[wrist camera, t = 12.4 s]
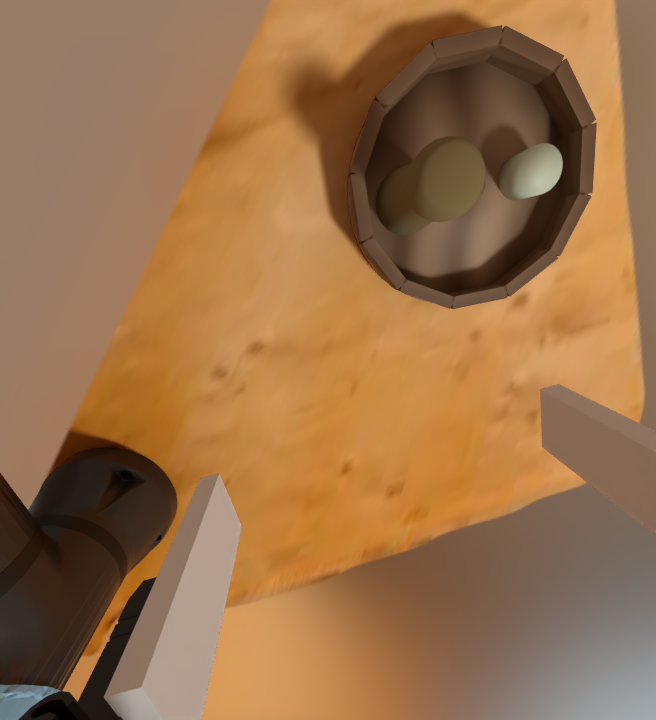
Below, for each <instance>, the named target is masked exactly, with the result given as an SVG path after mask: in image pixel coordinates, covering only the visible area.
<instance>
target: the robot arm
mask: <svg viewBox="0 0 656 720" xmlns="http://www.w3.org/2000/svg"><path fill="white" fill-rule="evenodd" d="M540 395H541V426H542V447H543V448H544V449H545V450H547V451H548V452H549V453H550V454H552V455H553V456H554V457H556V458H557V459H558V460H559V461H561V462H562V463H563V464H565V465H566V466H567V467H568V468H570V469H571V470H572V471H574V472H575V473H576V474H577V475H579V476H580V477H581V478H583V479H584V480H585V481H586V482H588V483H589V484H590V485H592V486H593V487H594V488H595V489H597V490H598V491H599V492H601V493H602V494H603V495H604V496H606V497H607V498H608V499H610V500H611V501H612V502H613V503H615V504H616V505H617V506H619V507H620V508H621V509H622V510H624V511H625V512H626V513H628V514H629V515H630V516H631V517H633V518H634V519H635V520H637V521H638V522H639V523H640V524H642V525H643V526H644V527H646V528H647V529H648V530H649V531H651V532H652V533H653V534H654V535H656V431H654V430H652V429H649V428H648V427H645V426H643V425H641V424H639V423H637V422H635V421H633V420H631V419H629V418H627V417H625V416H623V415H621V414H619V413H617V412H615V411H613V410H611V409H609V408H606V407H604V406H602V405H600V404H598V403H596V402H594V401H592V400H590V399H588V398H586V397H584V396H582V395H580V394H578V393H576V392H574V391H572V390H570V389H568V388H565V387H563V386H561V385H559V384H558V385H554V386H550V387H547V388H543V389H540ZM176 511H177V497H176V493H175V490H174V487H173V485H172V483H171V482H170V480H169V479H168V477H167V476H166V475H165V473H164V472H163V471H162V470H161V469H160V468H159V467H157V466H156V465H155V464H153V463H152V462H151V461H149V460H147V459H146V458H144V457H142V456H140V455H137V454H135V453H132V452H129V451H125V450H121V449H115V448H96V449H90V450H86V451H82V452H80V453H77V454H75V455H73V456H72V457H70V458H68V459H67V460H66V461H65V462H63V463H62V464H61V465H60V466H59V467H58V468H56V469H55V470H54V471H53V472H52V473H51V474H50V475H49V476H48V477H47V479H46V480H45V481H44V483H43V485H42V487H41V489H40V491H39V493H38V495H37V496H36V498H35V500H34V501H33V503H32V505H31V506H30V508H29V510H27V508H26V507H25V506H24V504H23V503H22V502H21V500H20V499H19V498H18V496H17V495H16V493H15V492H14V491H13V489H12V488H11V487H10V485H9V484H8V483H7V481H6V480H5V479H4V477H3V476H2V475H1V473H0V720H201V719H202V714H203V709H204V704H205V700H206V695H207V690H208V686H209V681H210V676H211V671H212V666H213V662H214V657H215V652H216V647H217V642H218V637H219V633H220V628H221V623H222V619H223V614H224V609H225V604H226V600H227V595H228V590H229V585H230V581H231V576H232V571H233V566H234V561H235V557H236V552H237V547H238V542H239V538H240V533H241V528H242V526H241V524H240V521H239V519H238V517H237V514H236V512H235V509H234V507H233V505H232V502H231V500H230V498H229V495H228V493H227V491H226V488H225V486H224V484H223V481H222V479H221V476H220V474H216V475H212V476H208V477H205V478H201V479H200V481H199V483H198V485H197V487H196V490H195V492H194V494H193V496H192V499H191V501H190V503H189V505H188V508H187V510H186V512H185V515H184V517H183V519H182V521H181V524H180V526H179V528H178V530H177V533H176V535H175V537H174V539H173V542H172V544H171V546H170V548H169V551H168V553H167V555H166V558H165V560H164V562H163V564H162V567H161V569H160V571H159V573H158V576H157V577H156V578H152V579H148V580H145V581H143V582H142V583H141V585H140V586H139V587H138V588H137V590H136V591H135V592H134V593H133V595H132V596H131V597H130V598H129V600H128V601H127V603H126V605H125V607H124V609H123V611H122V614H121V616H120V618H119V620H118V624H116V626H115V628H114V630H113V632H112V634H111V636H110V641H109V642H107V644H106V646H105V648H104V650H103V652H102V654H101V656H100V658H99V660H98V662H97V664H96V666H95V668H94V670H93V672H92V674H91V676H90V678H89V680H88V682H87V684H86V686H85V688H84V690H83V692H82V694H81V696H80V698H79V700H78V702H77V701H76V700H75V698H74V697H73V696H72V695H71V694H70V692H63V691H62V690H63V688H64V686H65V685H66V683H67V681H68V679H69V678H70V676H71V674H72V672H73V670H74V668H75V667H76V665H77V663H78V661H79V659H80V658H81V656H82V654H83V652H84V650H85V649H86V647H87V645H88V643H89V641H90V639H91V638H92V636H93V634H94V632H95V630H96V629H97V627H98V625H99V623H100V621H101V620H102V618H103V616H104V614H105V612H106V610H107V609H108V607H109V605H110V603H111V601H112V600H113V598H114V596H115V594H116V592H117V590H118V589H119V587H120V585H121V583H122V582H123V580H124V578H125V576H126V575H127V574H128V573H129V572H130V571H131V570H132V569H133V568H134V567H135V566H136V565H137V564H138V563H139V562H140V561H141V560H142V559H143V558H144V557H145V556H146V555H147V554H148V553H149V552H150V551H151V550H152V549H153V548H154V547H156V546H157V545H158V544H159V543H160V542H161V540H162V539H163V538H164V536H165V535H166V533H167V531H168V530H169V528H170V526H171V524H172V522H173V520H174V518H175V515H176Z"/></svg>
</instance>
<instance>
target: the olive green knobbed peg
mask: <svg viewBox="0 0 656 720" xmlns="http://www.w3.org/2000/svg"><path fill="white" fill-rule="evenodd" d="M484 181H485V164H484V161H483V158H482V155H481V153H480V151H479V150H478V149H477V148H476V146H475V145H474V144H473V143H472V142H470V141H468V140H466V139H465V138H463V137H456V136H448V137H444V138H439V139H436V140H434V141H432V142H431V143H429V144H428V145H426V146H425V147H424V148H423V149H422V150H421V151H420V152H419V153H418V155H417V156H416V157H415V158H414V159H413V161H412V163H410V164H408V165H405V166H403V167H400V168H397V169H396V170H394V171H392V172H391V173H389V174H388V175H387V176H386V177H385V179H384V180H383V181H382V182H381V184H380V186H379V189H378V191H377V194H376V202H375V205H376V212H377V215H378V218H379V220H380V222H381V224H382V225H383V226H384V227H385V228H386V229H387V230H389V231H391V232H393V233H395V234H398V235H410V234H414V233H416V232H418V231H420V230H421V229H423V228H425V227H426V226H427V225H429V224H430V223H432V222H440V223H441V222H446V221H450V220H454V219H456V218H458V217H460V216H461V215H463V214H465V213H466V212H467V211H468V210H469V209H470V208H471V207H472V206H473V205H474V204H475V202H476V201H477V200H478V198H479V196H480V194H481V192H482V190H483V186H484Z"/></svg>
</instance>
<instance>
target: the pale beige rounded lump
mask: <svg viewBox="0 0 656 720" xmlns="http://www.w3.org/2000/svg"><path fill="white" fill-rule="evenodd" d="M562 167H563V161H562V156H561V154H560V152H559V150H558V149H557V148H556V147H555V146H553V145H551V144H548V143H541V144H537V145H535V146H533V147H531V148H529V149H526V150H524V151H522V152H520V153H518V154H516V155H514V156H512V157H511V158H509V159H508V160H507V161H506V162H505V163H504V165H503V166H502V168H501V170H500V173H499V178H498V183H499V188H500V191H501V193H502V194H503V195H504V196H505V197H506V198H508V199H510V200H521V199H525V198H529V197H533V196H537V195H541V194H544V193H546V192H547V191H549V190H550V189H551V188H553V187H554V185H555V184H556V183H557V181H558V180H559V178H560V175H561V172H562Z"/></svg>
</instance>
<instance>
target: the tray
mask: <svg viewBox="0 0 656 720" xmlns="http://www.w3.org/2000/svg"><path fill="white" fill-rule="evenodd" d="M563 57H564V55H562V54H560V53H558V52H556V51H554V50H552V49H550V48H548V47H546V46H544V45H542V44H540V43H538V42H536V41H534V40H532V39H530V38H529V37H527V36H525V35H523V34H521V33H519V32H517V31H515V30H513V29H511V28H509V27H507V26H505V27H504V28H503V29H502V25H501V26H496V27H492V28H487V29H482V30H478V31H473V32H469V33H464V34H459V35H455V36H450V37H445V38H441V39H436V40H433V41H432V43H430V42H429V43H428V44H427V45H426V46H425V47H424V48H423V49H422V50H421V51H420V52H419V53H418V54H417V55H416V56H415V57H414V58H413V59H412V61H411V62H410V63H409V64H408V65H407V66H406V67H405V68H404V69H403V70H402V71H401V72H400V73H399V74H398V75H397V76H396V77H395V78H394V79H393V80H392V81H391V82H390V83H389V84H388V85H387V86H386V87H385V88H384V89H383V90H382V91H381V92H380V93H379V94H378V95H377V96H376V97H375V99H374V100H373V103H372V105H371V107H370V110H369V112H368V116H367V119H366V122H365V124H364V126H363V127H362V130H361V132H360V135H359V137H358V140H357V143H356V145H355V148H354V152H353V156H352V160H351V164H350V170H349V175H348V181H347V182H348V207H349V216H350V220H351V224H352V229H353V232H354V235H355V237H356V240H357V243H358V245H359V247H360V249H361V251H362V253H363V255H364V256H365V258H366V259H367V261H368V262H369V264H370V265H371V267H372V268H373V269H374V270H375V271H376V272H377V273H378V274H379V276H380V277H381V278H383V279H384V280H385V281H386V282H387V283H389V284H390V285H391V287H393V288H394V289H396V290H398V291H401V292H402V293H405V294H407V295H409V296H411V297H414V298H416V299H419V300H423V301H427V302H431V303H435V304H438V305H441V306H444V307H446V308H449V309H450V308H452V309H456V308H460V307H465V306H470V305H475V304H480V303H485V302H489V301H494V300H499V299H504V298H507V296H511V295H512V294H514V293H515V292H516V291H517V290H519V289H520V288H521V287H523V286H524V285H525V284H526V283H528V282H529V281H530V280H531V279H533V278H534V277H535V276H536V275H538V274H539V273H540V272H541V271H543V270H544V269H545V268H546V267H548V266H549V265H550V264H551V263H553V262H554V261H555V260H557V259H558V257H557V256H560V255H561V253H562V251H563V249H564V247H565V245H566V244H567V242H568V240H569V238H570V236H571V234H572V232H573V230H574V228H575V226H576V225H577V223H578V221H579V219H580V217H581V215H582V213H583V211H584V209H585V207H586V206H587V204H588V202H589V200H590V198H591V196H590V195H588V194H589V193H592V192H593V175H594V158H595V141H596V124H597V123H594V124H591V123H592V122H594V121H595V120H596V119H595V116H594V114H593V112H592V110H591V108H590V106H589V104H588V102H587V100H586V98H585V96H584V94H583V92H582V89H581V87H580V85H579V83H578V81H577V79H576V77H575V75H574V73H573V71H572V69H571V67H570V65H569V62H568V60H567V58H566V59H565V60H563ZM562 60H563V61H562ZM448 136H456V137H463V138H465V139H466V140H468V141H470V142H472V143H473V144H474V145H475V146H476V148H477V149H478V150H479V151H480V153H481V155H482V158H483V161H484V164H485V181H484V186H483V190H482V192H481V194H480V196H479V198H478V200H477V201H476V202H475V204H474V205H473V206H472V207H471V208H470V209H469V210H468V211H467V212H466V213H465V214H463V215H461V216H460V217H458V218H456V219H454V220H450V221H446V222H441V223H440V222H432V223H430V224H429V225H427V226H426V227H425V228H423V229H421V230H420V231H418V232H416V233H414V234H410V235H398V234H395V233H393V232H391V231H389V230H387V229H386V228H385V227H384V226H383V225H382V224H381V222H380V220H379V218H378V215H377V212H376V205H375V202H376V194H377V191H378V189H379V186H380V184H381V182H382V181H383V180H384V179H385V177H386V176H387V175H388V174H389V173H391V172H392V171H394V170H396V169H397V168H400V167H403V166H405V165H408V164H410V163H412V161H413V159H414V158H415V157H416V156H417V155H418V153H419V152H420V151H421V150H422V149H423V148H424V147H425V146H426V145H428V144H429V143H431V142H432V141H434V140H436V139H439V138H444V137H448ZM541 143H548V144H551V145H553V146H555V147H556V148H557V149H558V150H559V152H560V154H561V156H562V161H563V167H562V172H561V175H560V178H559V180H558V181H557V183H556V184H555V185H554V187H553V188H551V189H550V190H549V191H547V192H546V193H544V194H541V195H537V196H533V197H529V198H525V199H521V200H510V199H508V198H506V197H505V196H504V195H503V194H502V193H501V191H500V188H499V183H498V178H499V173H500V170H501V168H502V166H503V165H504V163H505V162H506V161H507V160H508V159H509V158H511V157H512V156H514V155H516V154H518V153H520V152H522V151H524V150H526V149H529V148H531V147H533V146H535V145H537V144H541Z"/></svg>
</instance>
